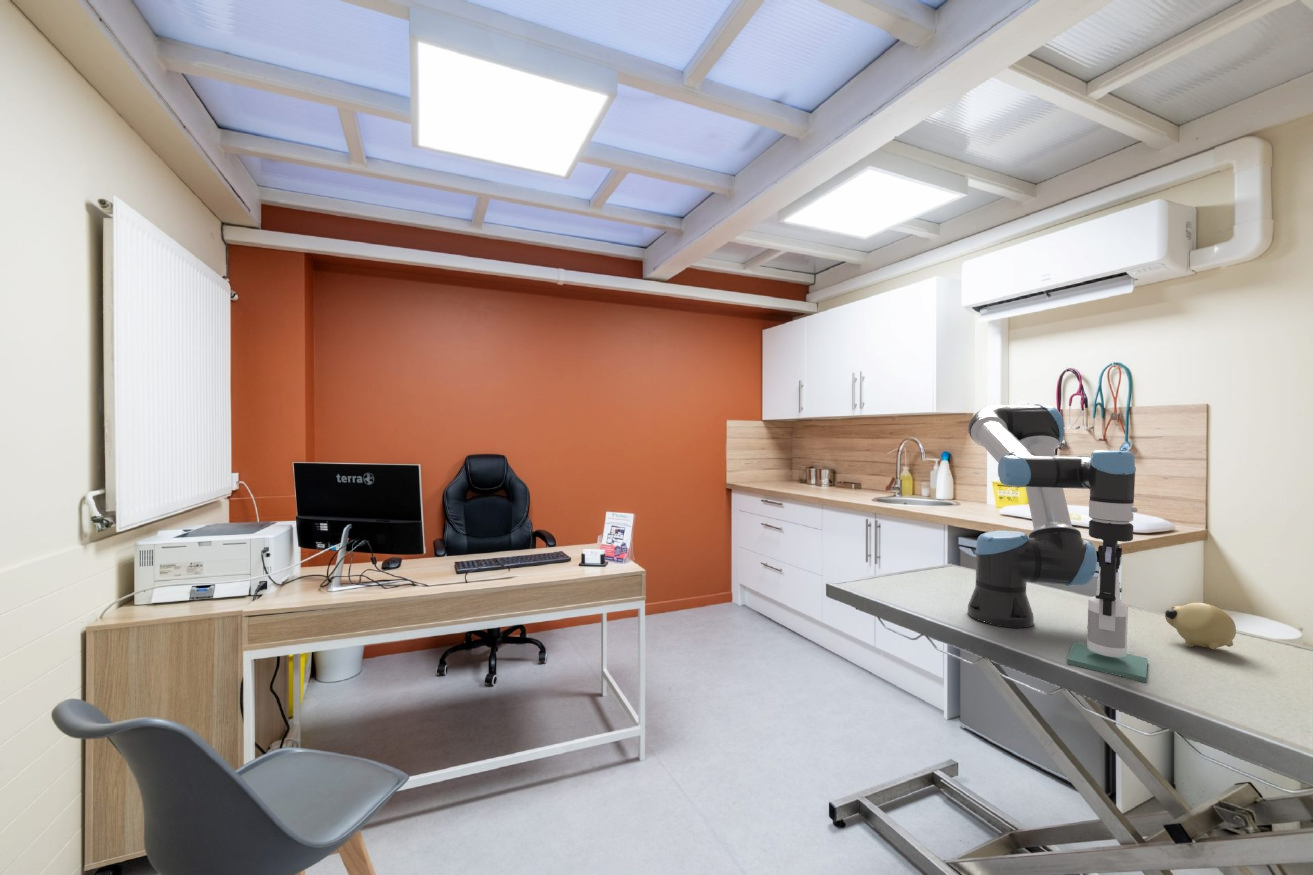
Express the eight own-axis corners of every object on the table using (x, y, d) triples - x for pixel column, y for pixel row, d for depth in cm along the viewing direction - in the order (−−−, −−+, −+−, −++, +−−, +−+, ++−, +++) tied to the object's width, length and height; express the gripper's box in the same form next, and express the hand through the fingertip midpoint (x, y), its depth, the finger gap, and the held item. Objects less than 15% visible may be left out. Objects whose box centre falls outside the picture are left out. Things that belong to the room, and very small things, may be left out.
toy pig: (1184, 635, 138) (1185, 593, 138) (1246, 654, 127) (1247, 608, 126) (1155, 638, 136) (1156, 595, 135) (1215, 658, 124) (1217, 611, 124)
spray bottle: (1078, 646, 124) (1081, 566, 124) (1106, 645, 125) (1109, 566, 125) (1106, 658, 118) (1108, 575, 117) (1135, 658, 118) (1137, 574, 118)
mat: (1066, 663, 121) (1067, 658, 121) (1073, 646, 130) (1073, 642, 130) (1146, 682, 112) (1146, 677, 112) (1147, 662, 122) (1147, 657, 122)
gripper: (1131, 529, 111) (1128, 642, 111) (1135, 517, 125) (1132, 617, 126) (1084, 524, 116) (1081, 632, 116) (1093, 513, 130) (1090, 610, 131)
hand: (1108, 624), depth 121 cm, fingers closed on spray bottle, 7 cm apart
